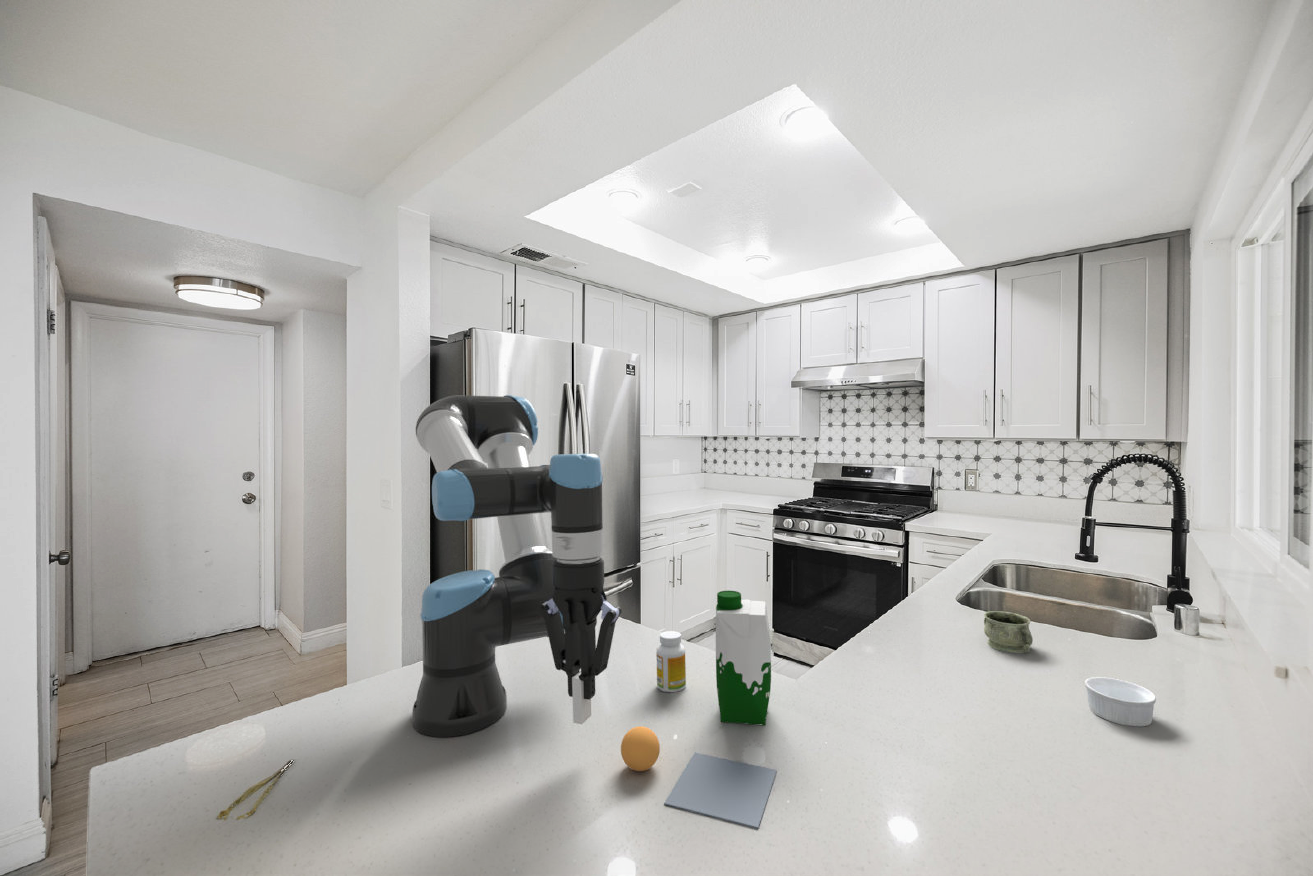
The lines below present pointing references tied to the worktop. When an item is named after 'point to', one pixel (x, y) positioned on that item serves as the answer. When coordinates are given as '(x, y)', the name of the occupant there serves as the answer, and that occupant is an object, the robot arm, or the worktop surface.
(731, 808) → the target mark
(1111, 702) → the ramekin
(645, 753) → the ball
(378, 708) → the worktop surface
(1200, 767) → the worktop surface
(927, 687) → the worktop surface
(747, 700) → the milk carton
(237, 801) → the tongs
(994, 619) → the vessel
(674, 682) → the supplement bottle
